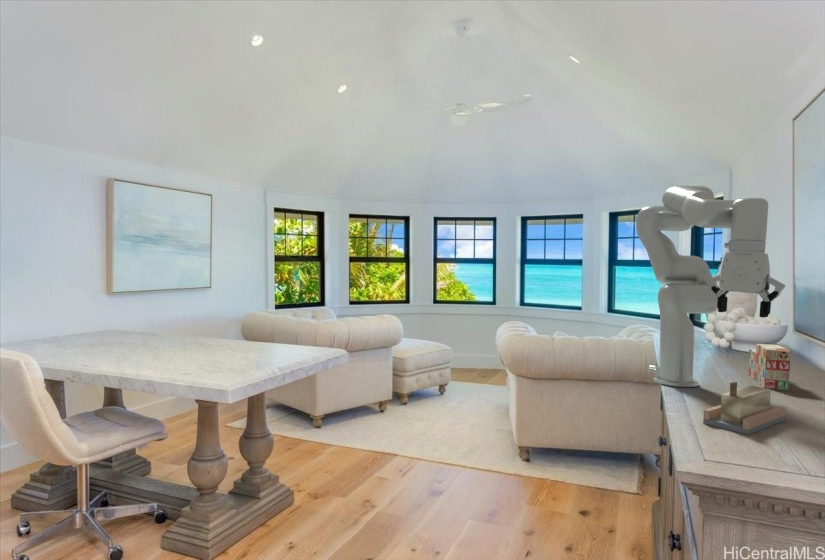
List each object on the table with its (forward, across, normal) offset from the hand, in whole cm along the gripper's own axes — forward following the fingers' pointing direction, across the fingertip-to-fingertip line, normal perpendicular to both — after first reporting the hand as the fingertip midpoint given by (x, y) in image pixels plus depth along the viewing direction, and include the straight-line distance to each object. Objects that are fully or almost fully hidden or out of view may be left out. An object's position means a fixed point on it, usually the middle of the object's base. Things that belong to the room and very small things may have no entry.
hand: (742, 314), depth 127 cm
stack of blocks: (+27, -10, +43) cm, 51 cm away
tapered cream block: (+23, +7, -11) cm, 26 cm away
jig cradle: (+24, +7, -11) cm, 27 cm away
